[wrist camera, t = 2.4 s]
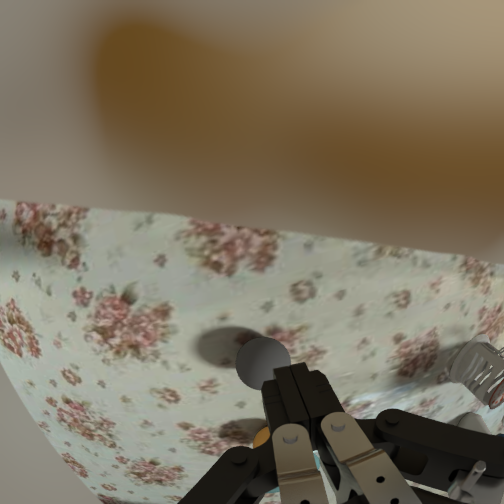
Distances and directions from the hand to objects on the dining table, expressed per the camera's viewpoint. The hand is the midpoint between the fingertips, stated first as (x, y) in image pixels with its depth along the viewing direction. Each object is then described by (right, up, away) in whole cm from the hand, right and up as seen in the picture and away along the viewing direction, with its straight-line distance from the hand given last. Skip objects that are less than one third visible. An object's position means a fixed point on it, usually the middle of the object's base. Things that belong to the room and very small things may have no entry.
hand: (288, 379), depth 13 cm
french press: (+35, -11, +26) cm, 45 cm away
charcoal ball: (-1, -5, +16) cm, 17 cm away
